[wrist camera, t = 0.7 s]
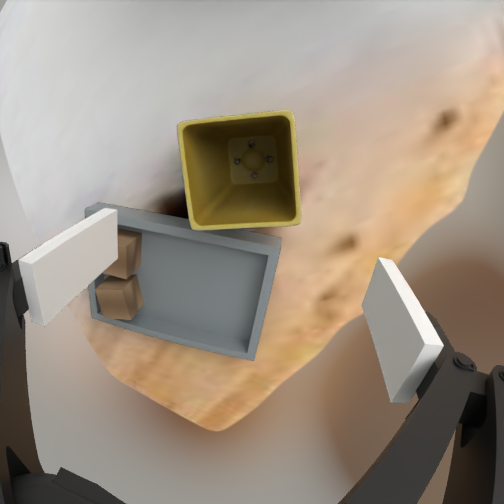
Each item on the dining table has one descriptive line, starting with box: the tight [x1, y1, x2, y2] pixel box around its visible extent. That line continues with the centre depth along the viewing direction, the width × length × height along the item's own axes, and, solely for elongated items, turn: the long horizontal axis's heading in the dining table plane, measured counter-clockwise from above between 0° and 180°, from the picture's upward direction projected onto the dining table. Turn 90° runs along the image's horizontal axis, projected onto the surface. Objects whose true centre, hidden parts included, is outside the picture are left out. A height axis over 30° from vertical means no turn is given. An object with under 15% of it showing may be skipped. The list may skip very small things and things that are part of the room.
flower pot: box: [177, 110, 302, 231], centre depth 27 cm, size 9×9×9 cm
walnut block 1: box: [102, 228, 142, 279], centre depth 34 cm, size 4×4×4 cm
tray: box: [85, 202, 282, 361], centre depth 36 cm, size 15×22×3 cm
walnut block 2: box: [95, 275, 144, 320], centre depth 36 cm, size 4×4×4 cm
